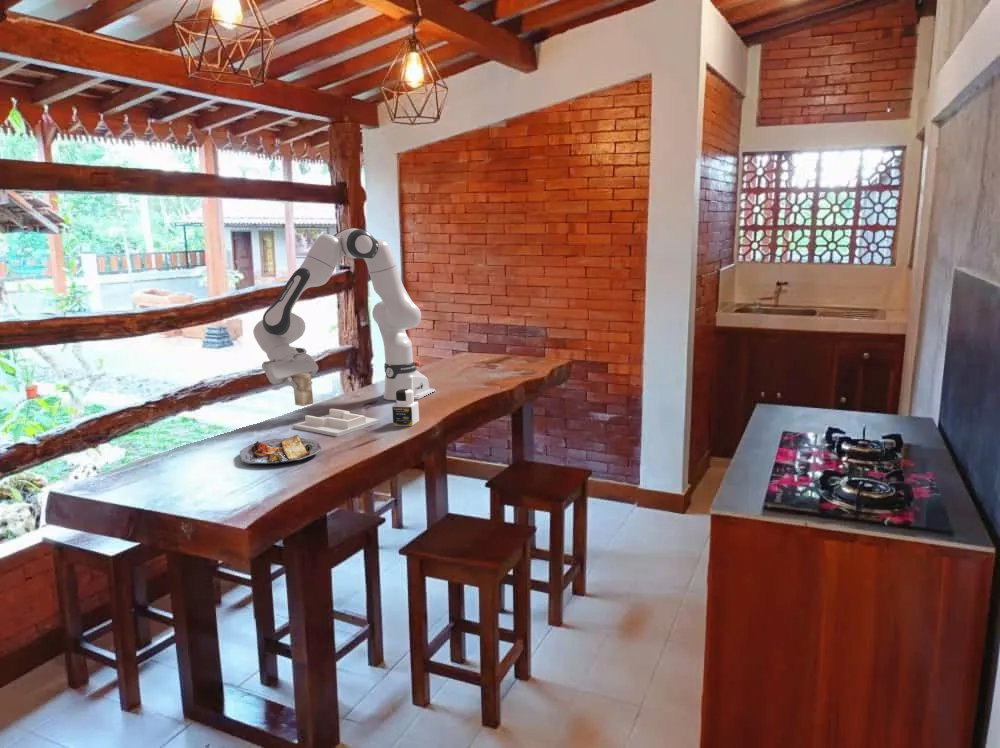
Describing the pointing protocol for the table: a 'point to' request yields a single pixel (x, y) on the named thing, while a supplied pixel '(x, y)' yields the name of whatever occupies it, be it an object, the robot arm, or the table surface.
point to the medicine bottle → (405, 409)
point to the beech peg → (303, 389)
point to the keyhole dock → (336, 423)
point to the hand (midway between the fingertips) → (303, 386)
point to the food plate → (279, 450)
